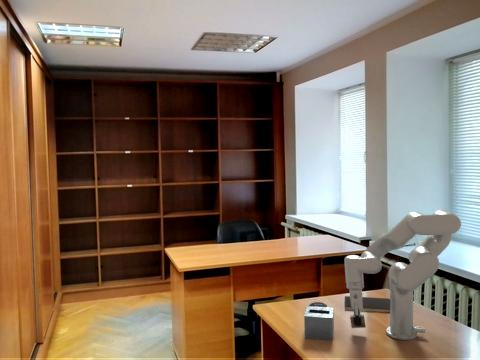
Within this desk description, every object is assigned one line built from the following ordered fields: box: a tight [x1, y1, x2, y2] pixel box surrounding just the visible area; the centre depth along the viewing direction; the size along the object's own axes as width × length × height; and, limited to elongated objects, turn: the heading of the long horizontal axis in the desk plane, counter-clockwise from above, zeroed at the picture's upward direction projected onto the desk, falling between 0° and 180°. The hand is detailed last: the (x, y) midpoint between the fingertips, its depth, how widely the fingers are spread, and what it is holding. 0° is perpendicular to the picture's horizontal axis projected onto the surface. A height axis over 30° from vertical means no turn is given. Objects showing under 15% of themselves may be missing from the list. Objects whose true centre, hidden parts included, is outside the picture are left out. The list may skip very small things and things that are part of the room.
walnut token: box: [349, 314, 366, 329], centre depth 189 cm, size 6×2×5 cm, turn 75°
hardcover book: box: [344, 295, 390, 313], centre depth 222 cm, size 16×23×2 cm
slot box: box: [303, 305, 335, 342], centre depth 190 cm, size 12×12×10 cm
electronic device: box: [308, 301, 328, 307], centre depth 216 cm, size 9×6×15 cm
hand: (357, 324), depth 189 cm, fingers closed on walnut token, 1 cm apart
